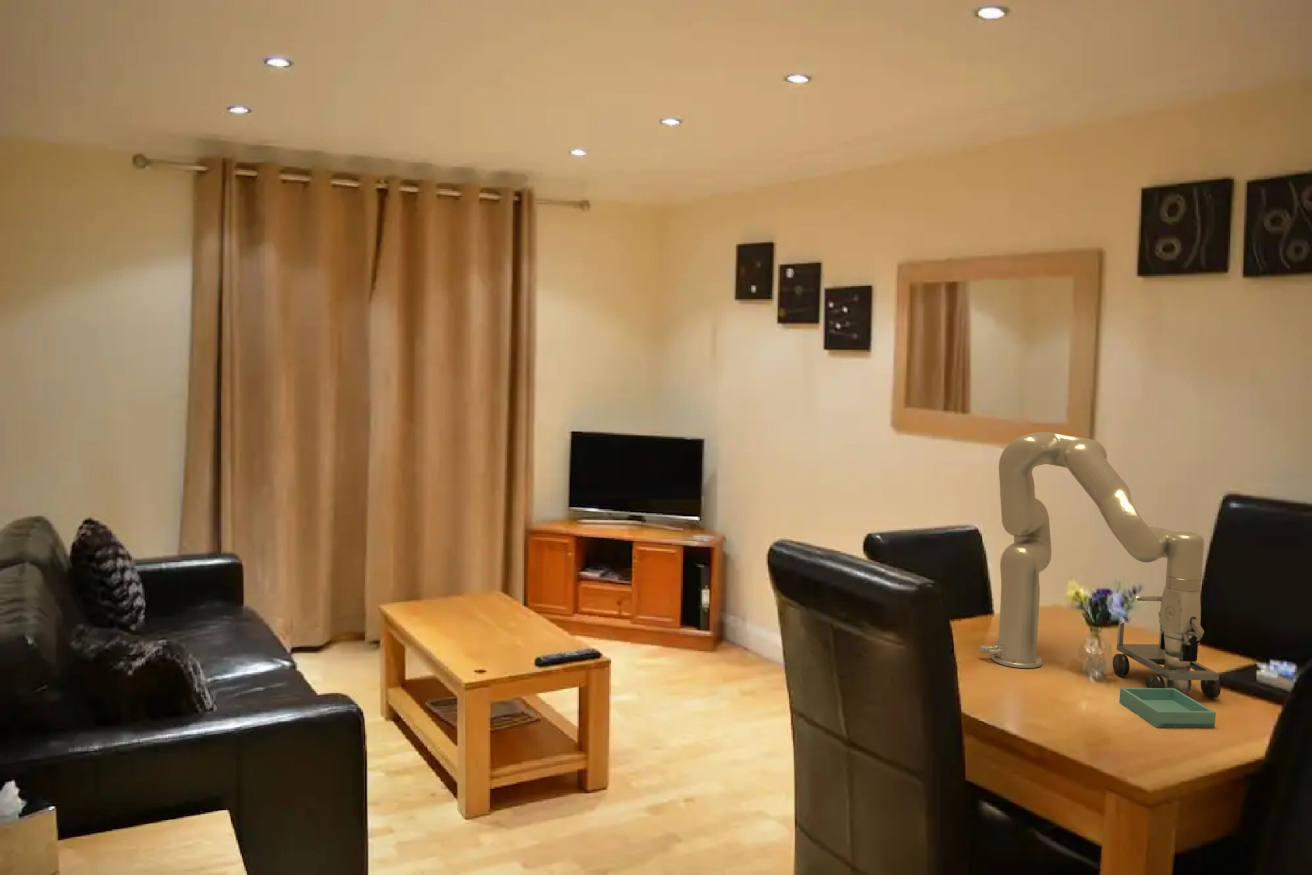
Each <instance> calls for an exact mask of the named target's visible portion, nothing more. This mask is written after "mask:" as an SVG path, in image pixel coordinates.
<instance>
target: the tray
mask: <svg viewBox="0 0 1312 875" xmlns="http://www.w3.org/2000/svg"><path fill="white" fill-rule="evenodd" d="M1118 703H1119V704H1121V705H1123V706H1124V707H1125V708H1127V709H1128V710H1130V711H1131V712H1133V713H1134V714H1135V715H1137V716H1139V717H1140V718H1141V719H1143V720H1145V721H1146V722H1147V723H1149V724H1150V725H1152V726H1153V727H1155V728H1156V729H1215V728H1216V726H1215V725H1216V717H1217V716H1216V715H1217V712H1215V711H1214V710H1213V709H1210V707H1207V706H1205V705H1204V704H1202V703H1200V702H1198V701H1197V700H1196V699H1194V698H1193V697H1192V698H1191V697H1190V696H1188V694H1183V693H1182V692H1180V691H1178V690H1177V689H1175V688H1147V687H1119V702H1118Z"/></svg>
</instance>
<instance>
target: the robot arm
mask: <svg viewBox="0 0 1312 875" xmlns="http://www.w3.org/2000/svg"><path fill="white" fill-rule="evenodd" d="M1107 455H1108V454H1107V451H1106V449H1105V447H1104V445H1102V444H1101V442H1099V441H1097V440H1095V439H1092V438H1086V437H1079V436H1072V435H1067V434H1063V433H1055V432H1049V431H1039V432H1030V433H1027V434H1023V435H1021V436H1019V437H1017V438H1015V439H1014V440H1012V441H1011V442H1010V443H1009V444H1007V445H1006V446H1005V448H1004V449H1003V451H1002V452H1001V454H1000V457H999V462H998V476H999V497H1000V498H999V500H1000V512H1001V524H1002V526H1003V529H1004V531H1006V533H1007V534H1009V535H1011V536H1013V543H1011V544H1009V545H1008V546H1006V548H1005V549H1004V550H1003V553H1002V554H1001V557H1000V560H999V561H1000V562H999V568H1000V569H999V572H1000V605H999V606H1000V608H999V621H998V622H999V624H998V640H995V641H994V643H993V644H991V645H986V644H980V645H979V653H981V654H982V653H984V654H985V653H986V654H988V655H991V656H990V659H991V660H992V661H993V662H995V663H996V664H1000V665H1003V666H1005V667H1011V668H1019V669H1034V668H1039V667H1041V666H1042V665H1043V659H1042V658H1041V656H1038V655H1037V651H1038V650H1037V649H1038V632H1039V630H1038V629H1039V619H1040V618H1039V617H1040V601H1041V600H1040V599H1041V598H1040V597H1041V596H1040V593H1041V591H1040V590H1041V589H1040V587H1041V586H1040V573H1041V572H1043V571H1045V569H1046V568H1048V566H1049V565H1050V562H1051V560H1052V542H1051V540H1052V538H1051V526H1050V517H1049V512H1048V509H1047V508H1046V506H1045V504H1044V503H1043V502H1042V501H1041V500H1040V499H1037V498H1036V494H1035V493H1036V492H1035V488H1036V487H1035V486H1036V485H1035V480H1034V476H1033V470H1034V469H1035V467H1038V466H1044V465H1050V466H1055V467H1061V468H1065V469H1066V468H1067V470H1068V471H1069V472H1070V474H1071V475H1072V476H1073V477H1074V478H1075V480H1076V481H1077V483H1079V485H1080V486H1081V487H1082V489H1083V491H1085V492H1086V493H1087V495H1088V496H1089V498H1091V500H1092V501H1093V503H1095V505H1096V506H1097V508H1098V509H1099V512H1100V514H1101V516H1102V518H1103V519H1104V521H1105V523H1106V525H1107V526H1108V529H1110V531H1111V532H1112V534H1113V535H1114V537H1116V539H1117V540H1118V542H1119V544H1121V546H1122V547H1123V548H1124V549H1125V551H1127V553H1128V554H1129V555H1130V556H1131V557H1132V558H1133V559H1135V560H1136V561H1138V562H1140V563H1152V562H1156V561H1157V560H1158V559H1161V558H1166V574H1165V586H1164V589H1163V592H1162V595H1161V596H1162V600H1161V601H1160V609H1159V612H1158V623H1159V632H1160V631H1161V645H1160V648H1161V649H1162V650H1165V640H1164V629H1165V627H1169V628H1170V629H1171V631H1173V632H1174V633H1176V634H1183V636H1184V640H1185V643H1186V644H1184V647H1183V661H1185V662H1197V661H1198V653H1199V652H1198V650H1199V649H1198V648H1199V646H1200V645H1201V644H1200V642H1201V641H1203V636H1204V633H1205V631H1204V629H1203V627H1202V626H1201V618H1202V617H1201V614H1202V613H1201V612H1202V611H1201V610H1202V608H1201V607H1202V606H1201V594H1200V593H1201V591H1202V579H1203V578H1202V577H1203V561H1204V550H1205V540H1204V537H1203V536H1202V535H1201V534H1199V533H1196V532H1189V531H1176V530H1175V531H1173V530H1171V529H1170V530H1169V529H1165V528H1161V527H1158V526H1149V525H1148V524H1146V522H1145V521H1144V520H1143V518H1142V517H1141V515H1140V514H1139V513H1138V511H1137V510H1136V507H1135V505H1134V504H1133V501H1132V496H1131V491H1130V488H1129V486H1128V484H1127V483H1126V482H1125V481H1124V480H1123V478H1122V477H1121V476H1120V475H1119V474H1118V472H1117V471H1116V470H1115V469H1114V468H1113V466H1112V465H1111V464H1110V462H1108V460H1107V459H1108V458H1107V457H1108V456H1107ZM1160 626H1161V628H1160ZM1190 631H1191V632H1190ZM1189 636H1192V637H1191V638H1190V639H1189Z"/></svg>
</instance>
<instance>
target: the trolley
mask: <svg viewBox="0 0 1312 875" xmlns="http://www.w3.org/2000/svg"><path fill="white" fill-rule="evenodd" d="M1135 596H1136V598H1137V601H1136V602H1161V600H1162V595H1161V596H1160V595H1159V596H1155V595H1154V596H1153V595H1149V596H1148V595H1135ZM1160 628H1161V626H1160V625H1159V629H1160ZM1124 632H1125V622H1124V623H1122V624H1120V625H1117V639H1116V650H1117V651H1118V652H1120V653H1115V654H1114V656H1113V658H1112V668H1113V672H1114V673H1115V675H1116V676H1117V677H1126V676H1128V675H1129V673H1130V669H1131V668H1130V667H1131V666H1130V660H1129V658H1130V659H1132V660H1134V661H1135V662H1138V664H1140V665H1142V666H1144V667H1146V668H1148V669H1149V670H1151V671H1153V672H1154V673H1149V674H1148V676H1147V677H1146V681H1145V682H1146V683H1145V685H1146V686H1145V688H1165V683H1164V680H1163V678H1162V676H1163V677H1165V678H1167V679H1168V680H1191V681H1200V689H1201V692H1202V694H1203V696H1204V697H1205V698H1207V699H1217V698H1219V696H1220V695H1221V690H1222V688H1221V687H1222V686H1221V682H1220V680H1219V679H1220V674H1219V672H1216V671H1214V670H1212V669H1210V668H1209V667H1206V666H1205V665H1202V664H1201V663H1198V662H1197V661H1196V662H1190V670H1167V669H1165V668H1164V661H1165V650H1162V649H1161V648H1160V645H1161V631H1160V630H1159V634H1158V635H1159V636H1158V643H1156V644H1155V643H1154V644H1153V643H1152V644H1151V643H1148V644H1147V643H1124V635H1125V634H1124Z"/></svg>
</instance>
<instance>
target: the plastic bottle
mask: <svg viewBox="0 0 1312 875" xmlns="http://www.w3.org/2000/svg"><path fill="white" fill-rule="evenodd" d="M1190 632H1191V631H1190ZM1191 637H1192V636H1189V639H1190V638H1191ZM1164 640H1165V661H1164V665H1163V668H1165V669H1167V670H1191V668H1190V662H1185V661H1183V647H1184V644H1186V643H1185V640H1184V636H1183V634H1176V633H1174V632H1173V631H1171V629H1170V628H1169V627H1165V629H1164ZM1162 678H1163V680H1164V683H1165V688H1175V689H1177V690H1178V691H1180V692H1182V693H1183V694H1185V695H1188V694H1189V693H1190V691H1192V686H1193V685H1192V683H1193V682H1192V680H1168V679H1167V678H1165V677H1163V676H1162Z"/></svg>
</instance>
